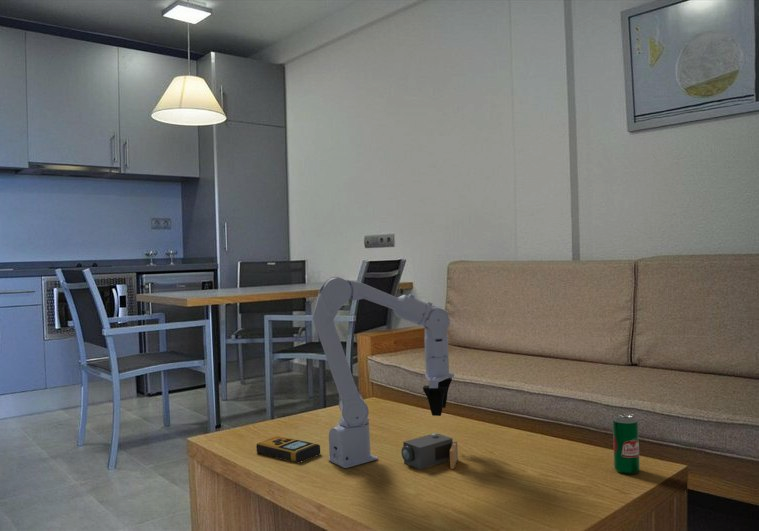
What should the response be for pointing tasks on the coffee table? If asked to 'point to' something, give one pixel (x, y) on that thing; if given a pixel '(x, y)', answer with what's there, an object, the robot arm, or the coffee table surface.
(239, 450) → the coffee table surface
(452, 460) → the side door
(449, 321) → the robot arm
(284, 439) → the electronic device
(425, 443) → the camera body
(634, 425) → the soda can
